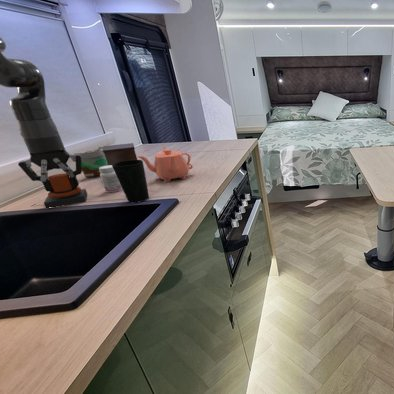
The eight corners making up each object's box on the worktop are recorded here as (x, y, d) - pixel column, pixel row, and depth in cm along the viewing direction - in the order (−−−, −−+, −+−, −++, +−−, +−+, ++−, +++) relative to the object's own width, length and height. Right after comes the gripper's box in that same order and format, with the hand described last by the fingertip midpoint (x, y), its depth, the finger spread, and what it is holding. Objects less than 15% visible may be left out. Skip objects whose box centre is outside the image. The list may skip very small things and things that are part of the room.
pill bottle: (104, 190, 100) (96, 167, 97) (121, 186, 103) (113, 164, 100) (107, 193, 97) (98, 169, 94) (124, 190, 100) (116, 166, 97)
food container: (98, 179, 112) (89, 153, 108) (82, 179, 112) (72, 153, 108) (121, 169, 123) (114, 146, 119) (107, 170, 123) (99, 146, 119)
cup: (158, 195, 95) (148, 160, 91) (138, 204, 88) (126, 167, 84) (139, 194, 97) (128, 159, 92) (118, 202, 90) (105, 165, 85)
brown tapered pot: (113, 182, 108) (102, 150, 104) (113, 176, 115) (103, 146, 111) (143, 177, 114) (134, 146, 109) (141, 171, 120) (133, 143, 116)
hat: (46, 199, 86) (38, 181, 83) (50, 192, 91) (43, 175, 89) (80, 193, 90) (73, 176, 88) (82, 187, 95) (75, 170, 93)
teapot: (179, 184, 106) (172, 154, 101) (143, 183, 107) (134, 154, 103) (202, 172, 119) (196, 145, 115) (170, 171, 120) (163, 145, 116)
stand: (46, 209, 86) (43, 202, 85) (50, 200, 92) (48, 195, 91) (85, 201, 91) (83, 195, 90) (87, 194, 97) (85, 188, 96)
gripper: (75, 130, 90) (94, 182, 97) (8, 136, 82) (34, 191, 89) (72, 134, 85) (93, 188, 91) (1, 140, 77) (28, 199, 83)
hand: (63, 189), depth 90 cm, fingers closed on hat, 4 cm apart
